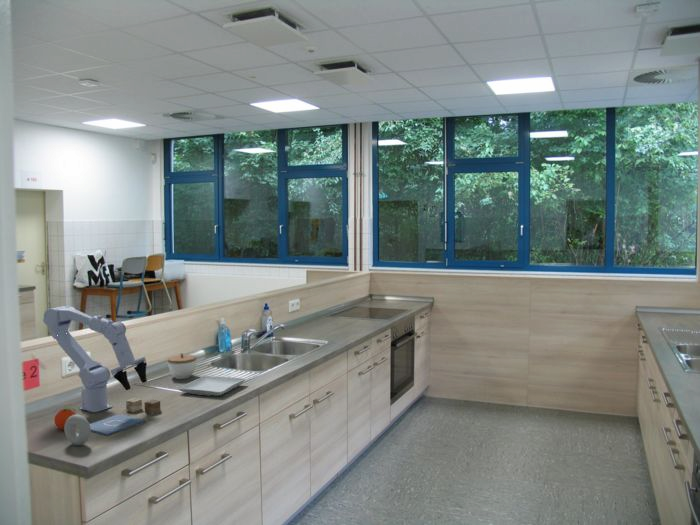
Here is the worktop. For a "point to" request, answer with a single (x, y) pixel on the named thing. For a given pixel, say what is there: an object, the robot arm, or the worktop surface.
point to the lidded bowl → (182, 366)
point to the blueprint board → (115, 424)
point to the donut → (82, 426)
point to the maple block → (134, 404)
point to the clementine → (63, 417)
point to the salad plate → (211, 385)
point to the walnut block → (152, 406)
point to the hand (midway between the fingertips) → (136, 385)
